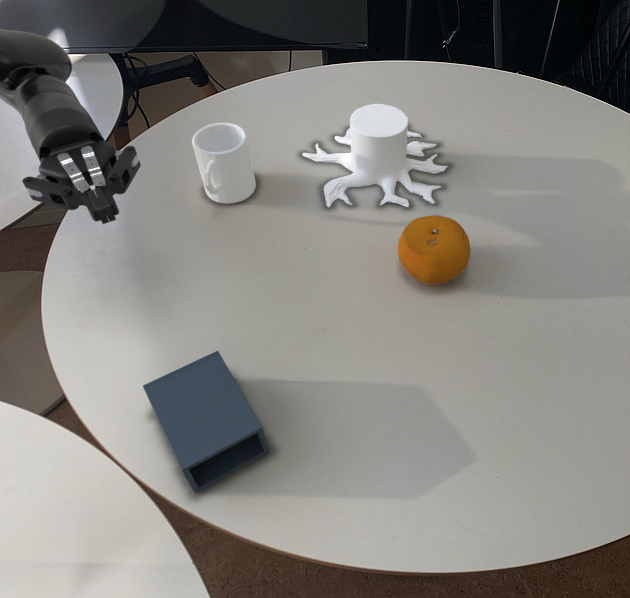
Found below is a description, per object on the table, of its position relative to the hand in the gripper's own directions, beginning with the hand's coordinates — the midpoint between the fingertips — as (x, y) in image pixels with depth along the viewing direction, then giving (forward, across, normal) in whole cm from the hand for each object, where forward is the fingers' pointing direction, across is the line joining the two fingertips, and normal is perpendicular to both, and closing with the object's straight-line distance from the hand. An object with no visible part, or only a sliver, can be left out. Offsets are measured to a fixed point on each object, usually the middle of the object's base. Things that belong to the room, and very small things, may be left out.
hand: (107, 215), depth 64 cm
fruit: (+10, +38, +20) cm, 44 cm away
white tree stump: (-15, +44, +20) cm, 50 cm away
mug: (-21, +19, +20) cm, 34 cm away
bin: (+12, 0, +17) cm, 21 cm away
